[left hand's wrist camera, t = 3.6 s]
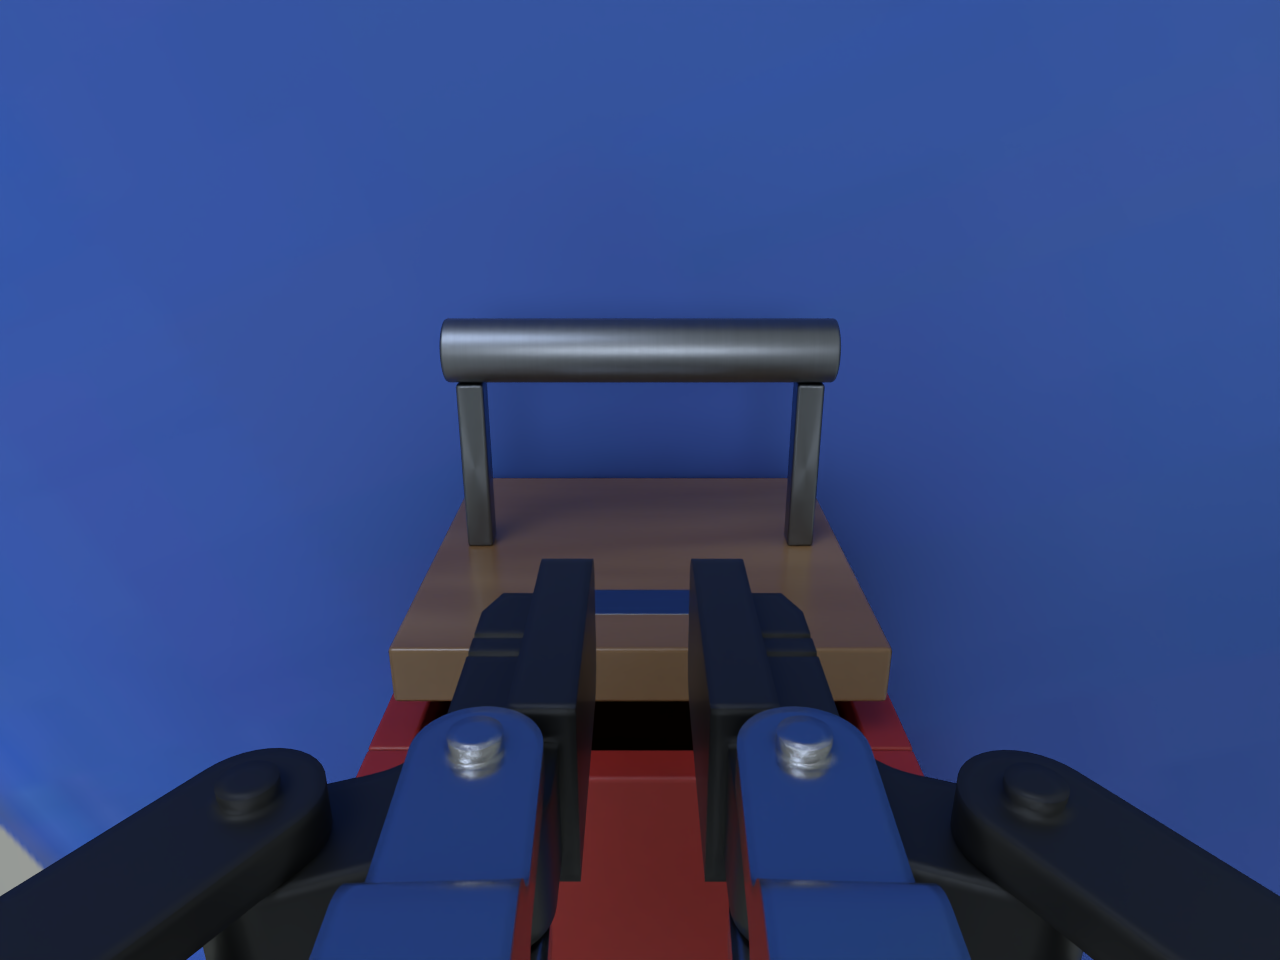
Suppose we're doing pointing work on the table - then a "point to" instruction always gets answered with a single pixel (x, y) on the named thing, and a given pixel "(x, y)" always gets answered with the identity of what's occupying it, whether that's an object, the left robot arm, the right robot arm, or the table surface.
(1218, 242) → the table surface
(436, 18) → the table surface
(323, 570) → the table surface
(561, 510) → the drawer
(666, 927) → the red rectangular box
